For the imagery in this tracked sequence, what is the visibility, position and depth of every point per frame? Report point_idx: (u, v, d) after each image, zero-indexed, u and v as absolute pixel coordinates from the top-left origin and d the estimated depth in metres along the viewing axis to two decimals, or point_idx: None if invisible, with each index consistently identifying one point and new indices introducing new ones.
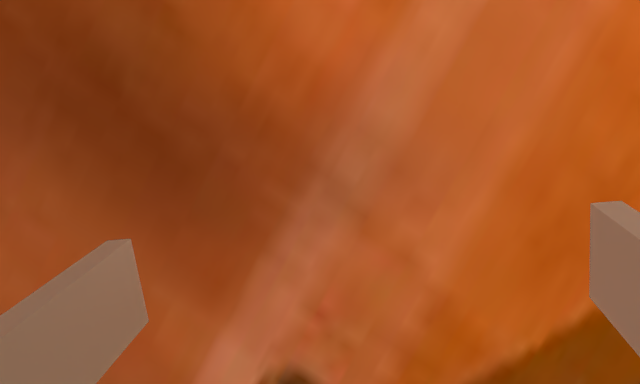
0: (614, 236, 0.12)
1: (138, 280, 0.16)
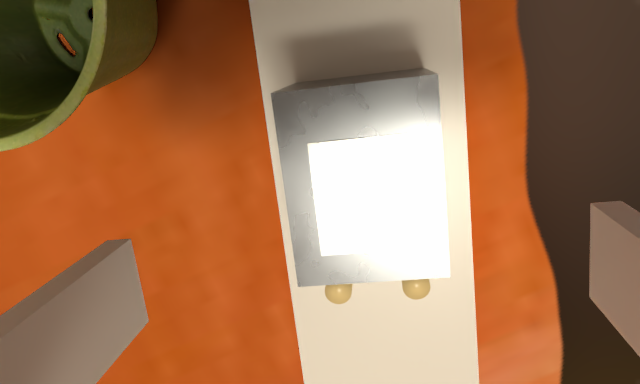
0: (614, 236, 0.12)
1: (138, 280, 0.16)
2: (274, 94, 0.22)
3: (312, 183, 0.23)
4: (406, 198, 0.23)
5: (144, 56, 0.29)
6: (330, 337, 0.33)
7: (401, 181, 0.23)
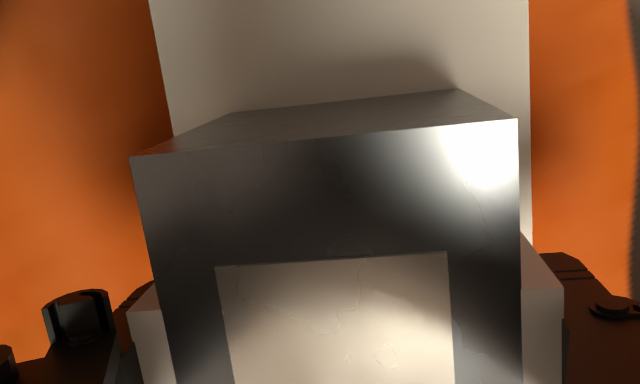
0: None
1: None
2: (136, 160, 0.10)
3: (229, 348, 0.11)
4: None
5: None
6: None
7: (425, 351, 0.10)
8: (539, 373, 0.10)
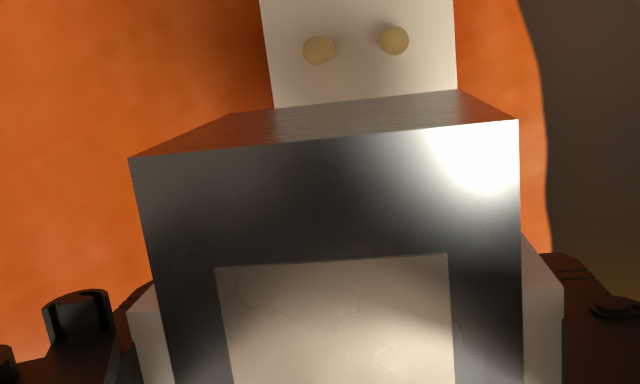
0: None
1: None
2: (135, 161, 0.10)
3: (228, 350, 0.11)
4: None
5: None
6: None
7: (425, 354, 0.10)
8: (539, 373, 0.10)
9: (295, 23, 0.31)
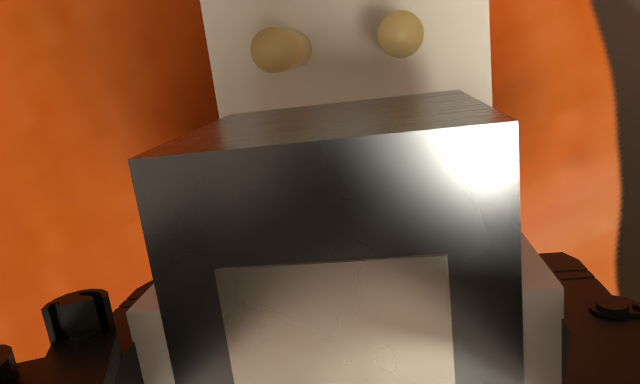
0: None
1: None
2: (135, 162, 0.10)
3: (229, 351, 0.11)
4: None
5: None
6: None
7: (425, 354, 0.10)
8: (539, 373, 0.10)
9: (251, 10, 0.21)
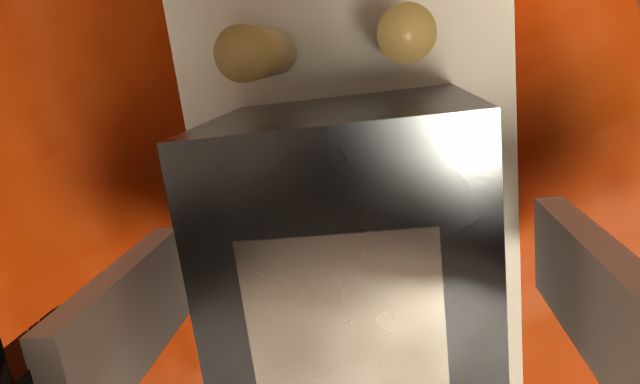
0: (550, 227, 0.13)
1: None
2: (163, 146, 0.11)
3: (245, 316, 0.12)
4: (429, 348, 0.12)
5: None
6: None
7: (420, 317, 0.11)
8: None
9: (222, 4, 0.17)
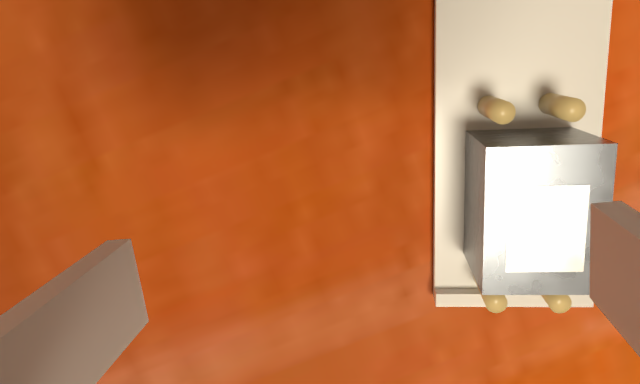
0: (614, 235, 0.12)
1: (137, 279, 0.16)
2: (489, 148, 0.30)
3: (507, 217, 0.30)
4: (579, 233, 0.30)
5: None
6: None
7: (577, 220, 0.30)
8: None
9: (465, 81, 0.36)
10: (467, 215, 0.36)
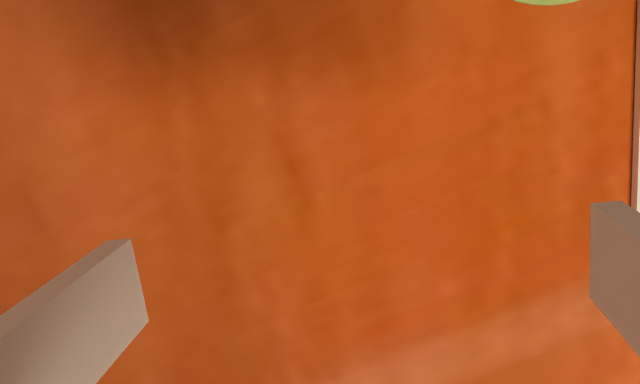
0: (614, 236, 0.12)
1: (138, 280, 0.16)
2: None
3: None
4: None
5: None
6: None
7: None
8: None
9: None
10: None
